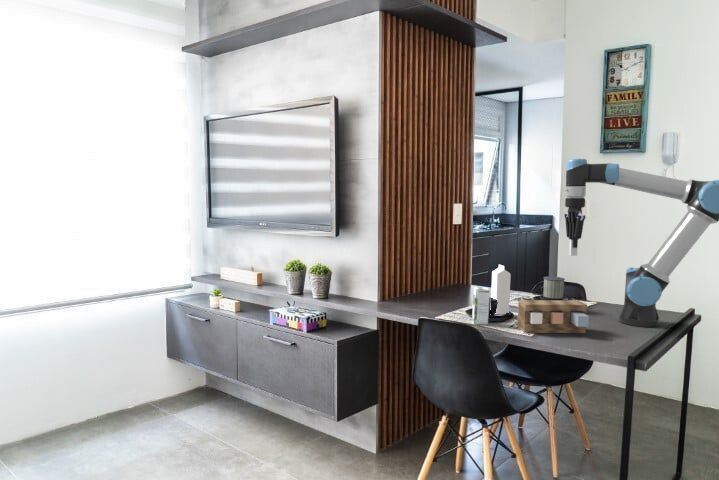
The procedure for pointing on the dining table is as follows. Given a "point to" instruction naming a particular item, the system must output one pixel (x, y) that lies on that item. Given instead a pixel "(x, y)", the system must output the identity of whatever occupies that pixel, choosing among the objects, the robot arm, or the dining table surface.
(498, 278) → the milk
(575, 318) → the slate button
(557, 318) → the salmon pink block
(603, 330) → the dining table surface
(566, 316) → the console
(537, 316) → the cream button
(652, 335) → the dining table surface
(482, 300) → the syrup box
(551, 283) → the milk frother
